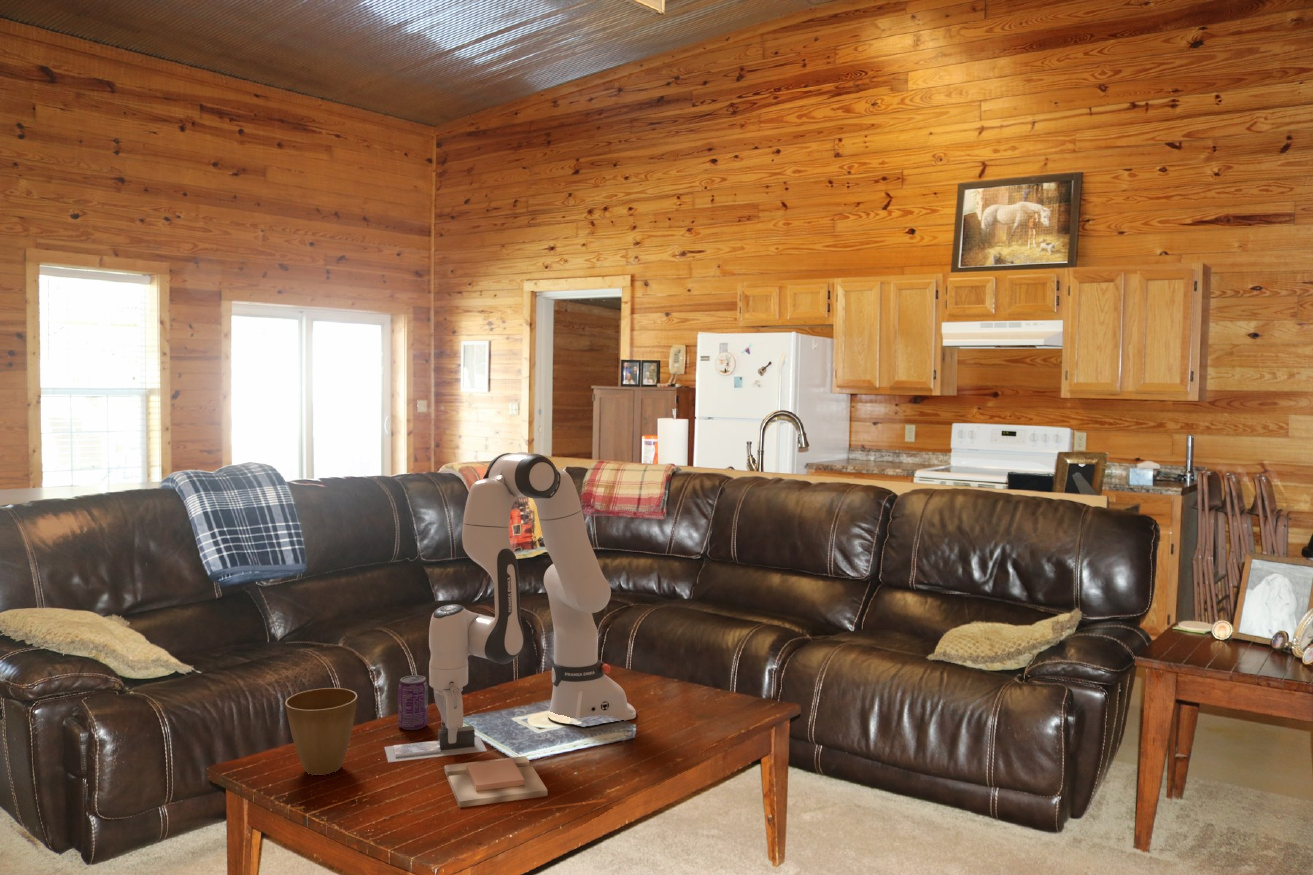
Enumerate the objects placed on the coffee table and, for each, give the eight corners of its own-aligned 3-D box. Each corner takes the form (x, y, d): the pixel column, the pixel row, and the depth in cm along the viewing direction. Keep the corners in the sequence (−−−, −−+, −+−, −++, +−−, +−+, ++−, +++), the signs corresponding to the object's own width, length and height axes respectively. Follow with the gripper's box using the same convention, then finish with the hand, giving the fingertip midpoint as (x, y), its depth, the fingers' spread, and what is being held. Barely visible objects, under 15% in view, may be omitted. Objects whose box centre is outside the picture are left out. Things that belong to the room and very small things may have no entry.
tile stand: (525, 762, 227) (525, 755, 227) (547, 797, 208) (547, 789, 208) (444, 772, 221) (444, 765, 221) (459, 809, 202) (459, 801, 202)
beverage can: (418, 719, 255) (418, 672, 254) (433, 727, 250) (433, 679, 249) (392, 726, 250) (392, 678, 249) (408, 733, 245) (407, 684, 244)
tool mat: (479, 737, 242) (479, 736, 242) (487, 752, 233) (487, 750, 233) (384, 748, 235) (384, 746, 235) (388, 763, 225) (388, 762, 225)
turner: (471, 740, 240) (471, 723, 240) (475, 748, 234) (475, 731, 234) (393, 748, 234) (392, 731, 233) (395, 757, 228) (395, 740, 228)
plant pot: (301, 756, 229) (300, 687, 228) (366, 758, 229) (366, 688, 228) (274, 782, 214) (273, 708, 214) (344, 784, 214) (343, 709, 213)
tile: (512, 758, 221) (524, 779, 210) (512, 764, 221) (524, 785, 210) (466, 764, 218) (476, 785, 207) (466, 770, 218) (476, 791, 207)
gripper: (470, 688, 225) (470, 749, 226) (455, 663, 245) (455, 720, 245) (441, 690, 223) (441, 752, 224) (429, 666, 242) (429, 722, 243)
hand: (448, 735), depth 235 cm, fingers open, 8 cm apart
